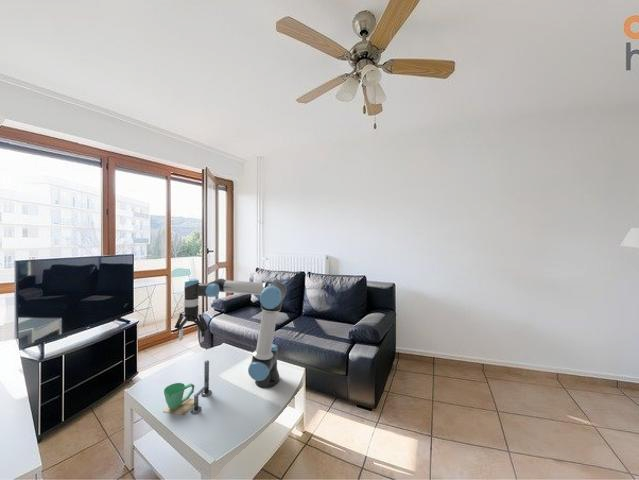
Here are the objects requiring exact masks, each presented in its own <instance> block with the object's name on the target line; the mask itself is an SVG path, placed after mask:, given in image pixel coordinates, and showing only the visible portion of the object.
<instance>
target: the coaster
mask: <svg viewBox="0 0 639 480" xmlns="http://www.w3.org/2000/svg"><path fill="white" fill-rule="evenodd" d="M184 398H185V397H183V398H182V399H184ZM193 407H194V398H191V397H189V398H188V399H187V400H186V401H184V402H183V403H182V404H180V406H179V407H178V408H176V409H173V410H171V409H169V407H168V406H167V407H166V408H165V409H164V410H163V411H164V412H163V413H167V412H168V413H167V414H175V415H181V416H185V415H186V413H188V412H189V411H191V409H192V408H193Z"/></svg>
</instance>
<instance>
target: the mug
mask: <svg viewBox="0 0 639 480" xmlns="http://www.w3.org/2000/svg"><path fill="white" fill-rule="evenodd" d="M188 388H191V390H190V391H189V393H188V394H187V396H185V397H184V392H185V390H186V389H188ZM194 390H195V384H193V383H192V382H191V383H188V384H185V383H182V382H177V383H176V382H175V383H172V384H170V385H168V386H166V387H165V388H164V389H163V395H164V398H165V402H166V404H167V408H168V407H169V409H171V410H173V409H176V408H178V407H179V406H180V404H182V403H183V402H184V401H186V400H187V399H188V398H191V396H192V395H193V393H194ZM182 398H184V399H182Z"/></svg>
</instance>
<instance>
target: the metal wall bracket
mask: <svg viewBox="0 0 639 480" xmlns="http://www.w3.org/2000/svg"><path fill="white" fill-rule="evenodd" d="M203 373H204V374H203V375H204V376H203V377H204V381H203V382H204V383H203V385H204V386H202V388H200V390H199V391H197V393H195V394H194V395H193V396H194V397H193V399H194V405H193V407H191V408H190V414H192V415H197V414H199V413H201V411H202V407H201V406H199V395H200V396H201V397H202V398H203V397H204V398H205V397H206V398H207V397H209V396H211V395H212V393H213V392H212V390H211V389H210V387H209V386H210V360H205V361H204V372H203Z"/></svg>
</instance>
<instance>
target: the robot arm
mask: <svg viewBox="0 0 639 480" xmlns="http://www.w3.org/2000/svg"><path fill="white" fill-rule="evenodd" d="M183 290H184V301H183V302H184V304H183V305H184V308H183V309H184V311H183V312H180V313H179V317H178V319H177V321H176V323H175V324H174V329H177V335H178V341H180V342H181V341H182V340H183V339H184V328H183V327H184V326H185V324H186V323H187V322H192V323H194V324H195V325H196V326H197V328H198V329H199V330H200V331H199V343H200V344H202V343H203V342H204V340H205V339H204V338H205V336H206V331H208V330H209V327H208V325H207V323H206V321H205V318H204V314H203V313H201V314H199V297H209V298H214V297H215V298H216V297H218V295H219V294H220V293H233V294H241V295H242V294H247V295H259V302H260V309H261V311H262V313H261V319H260V325H259V331H258V337H257V342H256V349H255V350H254V351H253V353H252V357H251V362H250V364H249V366H248V370H247V372H248V375H249V376H250V378H251V379H252V380H254V383H255V385H256V386H258V387H259V388H264V389H266V388H268V389H269V388H272V387H274V386H276V385H278V384H279V383H280V380H281V379H280V377H281V375H280V374H279V369H278V345H276V343H275V344H274V343H273V342H274V335H275V331H276V324H277V318H278V313H279V312H280V311H281V310H282V305H283V300H284V299H285V297H286V295H287V288H286V286H285V285H284V283H282V282H280V281H267V280H266V281H265V282H257V281H241V280H229V279H224V278H217V279H215V280H213V281H210V282H207V283H204V282H200V281H199V279H196V278H189V279H185V280H184V288H183Z"/></svg>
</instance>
